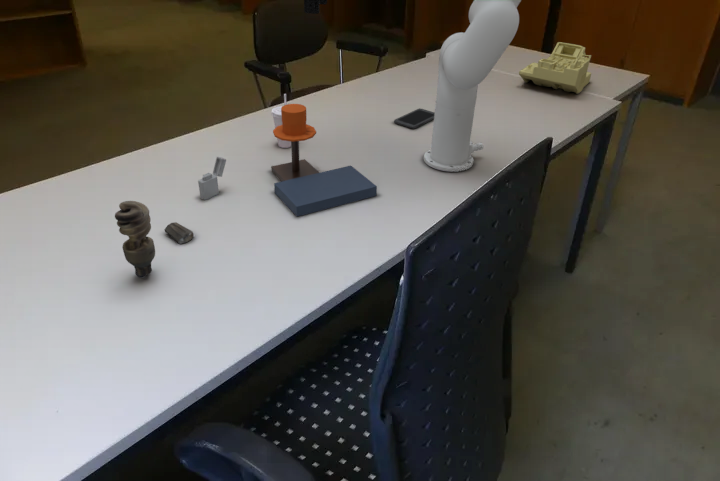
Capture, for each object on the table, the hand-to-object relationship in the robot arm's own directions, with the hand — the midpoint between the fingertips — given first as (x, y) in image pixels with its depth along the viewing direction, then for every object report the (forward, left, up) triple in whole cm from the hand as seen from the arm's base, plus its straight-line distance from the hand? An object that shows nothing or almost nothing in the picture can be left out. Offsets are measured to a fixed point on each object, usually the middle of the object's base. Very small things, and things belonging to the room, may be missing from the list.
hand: (316, 8), depth 129 cm
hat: (+9, +7, -25) cm, 28 cm away
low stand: (+7, +19, -36) cm, 41 cm away
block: (+41, +21, -36) cm, 59 cm away
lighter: (+29, +7, -36) cm, 47 cm away
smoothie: (+4, -10, -36) cm, 38 cm away
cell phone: (-38, -9, -36) cm, 53 cm away
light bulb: (+50, +31, -36) cm, 69 cm away
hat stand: (+9, +7, -36) cm, 38 cm away
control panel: (-100, -14, -36) cm, 107 cm away
